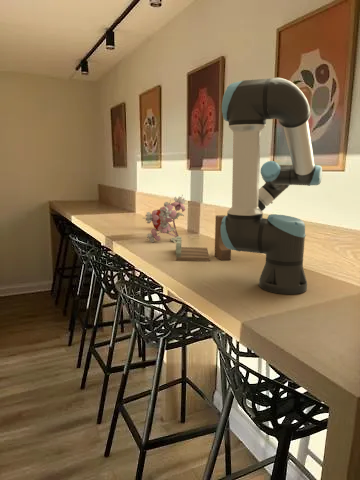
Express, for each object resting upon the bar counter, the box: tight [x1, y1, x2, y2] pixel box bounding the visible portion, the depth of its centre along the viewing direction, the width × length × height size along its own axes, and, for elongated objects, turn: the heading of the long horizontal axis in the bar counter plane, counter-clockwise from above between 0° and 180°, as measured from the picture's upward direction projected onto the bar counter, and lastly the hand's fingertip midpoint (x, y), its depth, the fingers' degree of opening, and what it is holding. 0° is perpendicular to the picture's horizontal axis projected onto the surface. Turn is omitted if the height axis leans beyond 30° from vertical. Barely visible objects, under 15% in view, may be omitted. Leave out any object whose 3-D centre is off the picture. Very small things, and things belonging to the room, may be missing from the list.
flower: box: [142, 194, 186, 244], centre depth 198 cm, size 20×22×25 cm
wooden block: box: [214, 214, 232, 261], centre depth 163 cm, size 9×4×18 cm, turn 13°
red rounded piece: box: [151, 208, 163, 231], centre depth 233 cm, size 10×10×14 cm
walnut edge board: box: [175, 236, 210, 262], centre depth 168 cm, size 20×14×6 cm
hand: (223, 235), depth 163 cm, fingers open, 13 cm apart
